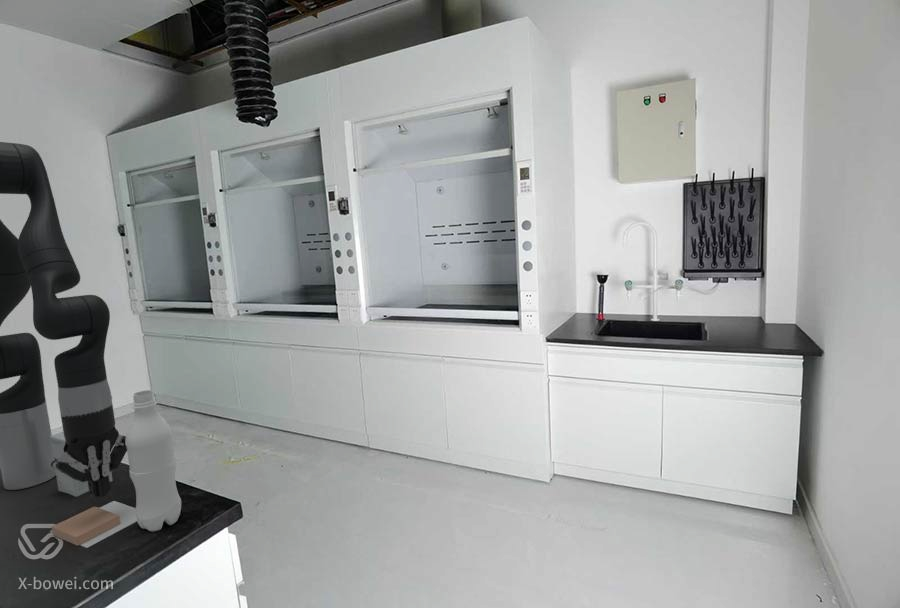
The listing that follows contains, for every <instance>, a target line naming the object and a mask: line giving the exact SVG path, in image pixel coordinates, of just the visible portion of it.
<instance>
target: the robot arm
mask: <svg viewBox="0 0 900 608" xmlns="http://www.w3.org/2000/svg"><path fill="white" fill-rule="evenodd" d="M0 194H1V195H2V194H3V195H6V194H7V195H26V196H28V199H29V201H30V211H29V214H28V217H27V218H26V221H25V223H24V225H23V226H22V229H21V232H20V234H19V237H17V236H16V235H15V234H14V233H13V232H12V231H11V230H10V229H9V228H8V226H6V225H5V224H4V222H3V221H2V220H1V219H0V327H1V326H2V324H3V322H4V321H5V319H7V318H8V316H9V315H10V314H11V313H12V312H13V311H14V310H15V308H16V307H18V305H19V304H20V303H21V302H22V301H23V299H25V297H26V295H27V294H28V293H29V291H30V289H31V294H32V322H33V326H34V329H35V330H36V332H37V333H38V334H39V335H41V337H43V338H45V339H47V340H52V341H54V340H55V341H56V340H57V341H59V340H63V339H68V338H75V337H81V338H80V341H79V343H78V344H77V345H76V346H74V347H72V348H70V349H66V350H64V351H62V352H60V353H59V354H56V356H55V358H54V361H53V362H54V369H55V370H54V371H55V375H56V376H55V377H56V381H57V390H58V393H57V395H58V396H57V397H58V398H57V400H58V406H59V413H60V414H59V415H60V420H61V424H62V432H64V437H65V441H66V442H65V446H64V449H63V450H64V453H63V455H62V456H61V457H60V458H59V459H58V460H54V458H53V452H52V446H51V440H50V436H51V435H53V433H52V429H51V423H50V417H49V411H48V405H47V400H46V394H45V393H46V391H45V384H44V376H43V365H42V355H41V349H40V345H39V342H38V339H37V337H36V336H34V335H33V334H32V333H31V332H19V333H12V334H6V335H0V380H6V379H9V378H11V379H12V378H14V377H19V379H18V380H17V381H16V382H15V383H14V384H13V385H11V386H10V387H8V388H7V389H5V390H3V391H1V392H0V472H1V479H2V484H3V488H4V490H9V491H12V490H13V491H16V490H22V489H27V488H31V487H35V486H38V485H40V484H43V483H45V482H47V481H50V480H52V479H53V478H54V477H55V476H56V471H55V469H56V470H58V471H60V472H62V473H64V474H66V475H67V476H69V477H71V478H73V479H75V480H79V481H81V482H86V481H88V487H89V491H88V492H89V493H88V494H89V495H90V496H91V497H93V498H95V499H102V498H105V497H106V496H108V495H109V492H110V491H111V483H110V481H109V473H110V472H111V473H112V471H113V470H115V469H118V468H119V466H120V465H121V463H122V461H123V459H124V457H125V455H126V453H128V452H127V446H126V445H125V439H126V435H121V434H120V433H119V431H118V429H117V428H116V419H115V412H114V411H115V410H114V405H113V396H112V393H111V388H110V384H109V381H108V377H107V376H108V375H107V370H106V363H105V362H106V361H105V350H106V344H107V336H108V333H109V332H108V331H109V326H110V319H111V315H110V308H109V306H108V304H107V302H106V301H105V300H104V299H103V298H102V297H100V296H98V295H95V294H85V295H77V296H76V295H75V296H66V297H65V296H64V297H60V298H59V297H58V296H57V294H61V293H63V292H66V291H69V290H71V289H73V288H75V287H76V286H77V285H78V284H80V281H81V274H80V272H79V271H80V270H79V269H78V266H77V264H76V262H75V260H74V257H73V255H72V253H71V251H70V249H69V247H68V245H67V242H66V239H65V236H64V234H63V231H62V227H61V223H60V219H59V215H58V211H57V207H56V206H57V205H56V202H55V199H54V195H53V190H52V187H51V183H50V179H49V175H48V172H47V169H46V166H45V164H44V161H43V159H42V157H41V155H40V154H39V152H38V151H37V150H36V149H35V148H34V147H32V146H31V145H28V144H25V143H24V144H23V143H17V142H16V143H15V142H3V141H0ZM70 457H72V458H73V459H75V460H76V461H78V462H80V465H81V467H82V468H83V471H84V473H82V472H80V471H79V470H77V469H75V468H73V467H71V465H72V461H71V460H70Z"/></svg>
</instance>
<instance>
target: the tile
mask: <svg viewBox="0 0 900 608" xmlns="http://www.w3.org/2000/svg"><path fill="white" fill-rule="evenodd" d="M119 524H121V523H120V516H119V515H117V514H114V513H111V512H109V511H106V510H103V509H100V507H97V506H92V507H90V508H89V509H86V510H84V511H82V512H80V513H78V514H75V515H74V516H73V515H72V516H71V517H70V518H67V519H65V520H63V521H60V522H59V523H56V524H55V525H52V526H51V531H52V533H51V534H52V536H54V537H56V538H59V539H61V540H64V541H65V542H68V543H70V544H72V545H75V546H76V547H77V546H81V545H80V544H82V543H84V542H86V541H88V540H90V539H92V538H94V537H96V536H98V535H99V534H101V533H103V532H105V531H107V530H109V529H111V528H113V527H115V526H117V525H119Z"/></svg>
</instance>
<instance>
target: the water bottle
mask: <svg viewBox="0 0 900 608" xmlns="http://www.w3.org/2000/svg"><path fill="white" fill-rule="evenodd" d="M132 396H133V397H132V398H133V403H132V404H133V406H132V409H133V410H134V413H133V418H132V420H131V423H130V425H129V427H128V430H127V432H126V435H125V436H126V439H125V445H126V446H127V452H126V453H127V457H128V458H127V459H128V464H129V469H128V470H129V478H130V479H131V481H132V484H133V485H134V490H135V497H136V499H135V500H136V504H135V508H136V510H135V513H136V518H137V524H138V525H139V527H140V528H141V529H143V530H144V529H145V530H148V532H156V531H157V532H158V531H160V530H161V529H162V528H163V525H164V522H165V523H166V525H169V526H172V525H174V524H175V523H176V522H178V519H179V517H180V515H181V509H182V498H181V497H180V495H179V492H178V488H177V483H176V467H177V459H176V457H175V453H174V445H173V444H174V442H173V432H172V431H173V430H172V429H171V426H170V425H169V423H168V422H167V421H166V419H165V418H164V417H163V416H162V415H161V414H160V413H159V411H158V410H157V408H156V406H157V401H156V399H155V396H154V392H153V390H149V389H147V390H141V391H137V392H134V393H133V394H132Z"/></svg>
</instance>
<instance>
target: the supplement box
mask: <svg viewBox="0 0 900 608" xmlns="http://www.w3.org/2000/svg"><path fill="white" fill-rule="evenodd" d="M50 440H51V446H52V452H53V458H54V460H58V459H59V458H60V457H61V456H62V455H63V453H64V450H63V449H64V446H65V442H66V441H65V437H64V432H63V431H60V432H57V433H54V434H52V435H51V436H50ZM70 460H71V461H72V465H71V467H73V468H75V469H77V470H79V471H80V472H82V473H84V471H83V468H82V467H81V465H80V462H78V461H76V460H75V459H73V458H72V457H70ZM55 471H56V482H57V490H58V492H62V493H66V494H69V495H71V496H73V497H76V498H77V497H79V496H81V495H84V494H86V493H88V492H89V487H88V481H86V482H81V481H79V480H75V479H73V478H71V477H69V476H67V475H66V474H64V473H62V472H60V471H58V470H56V469H55ZM109 481H110V482H113V481H114V480H113V474H112V471H111V472H110V473H109Z"/></svg>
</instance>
